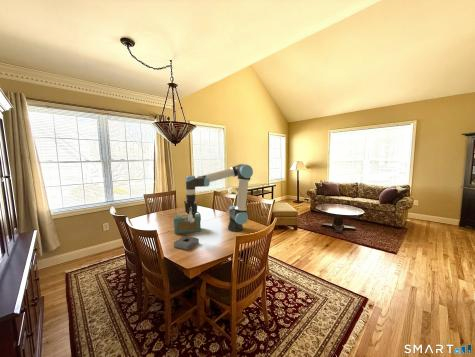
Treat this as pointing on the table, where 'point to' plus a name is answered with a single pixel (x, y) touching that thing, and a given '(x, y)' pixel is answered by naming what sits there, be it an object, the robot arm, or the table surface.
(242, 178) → the robot arm
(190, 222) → the chuck key
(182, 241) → the chuck block
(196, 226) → the radio
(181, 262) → the table surface
